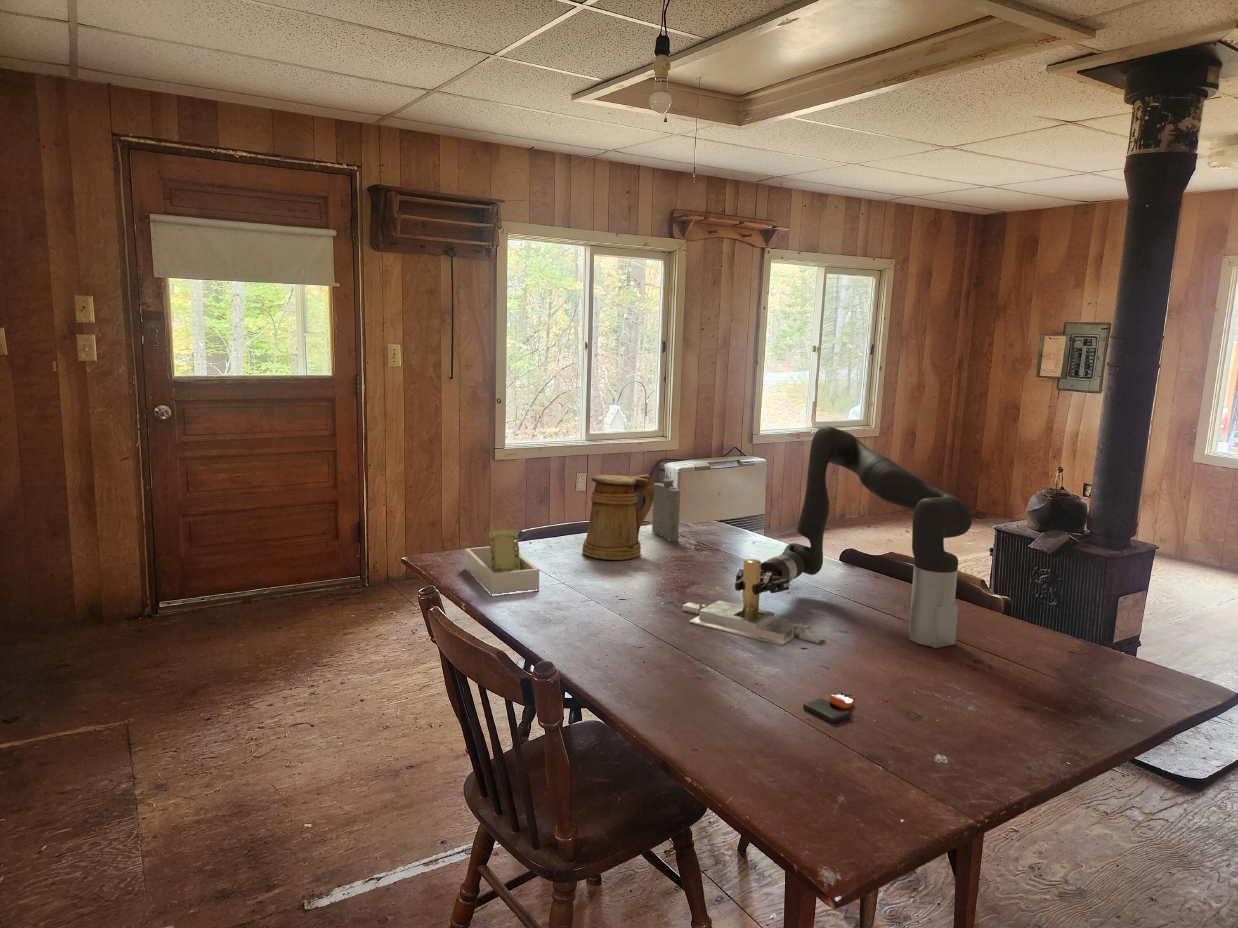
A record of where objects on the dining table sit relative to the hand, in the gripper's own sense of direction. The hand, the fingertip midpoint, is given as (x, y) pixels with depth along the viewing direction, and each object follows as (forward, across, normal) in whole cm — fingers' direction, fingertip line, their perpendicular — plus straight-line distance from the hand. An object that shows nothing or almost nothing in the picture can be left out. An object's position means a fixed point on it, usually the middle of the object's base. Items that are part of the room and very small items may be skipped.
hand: (746, 588), depth 189 cm
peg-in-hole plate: (-3, 0, +10) cm, 10 cm away
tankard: (-36, -62, +10) cm, 73 cm away
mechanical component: (+8, -69, +10) cm, 70 cm away
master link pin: (-3, 0, +8) cm, 8 cm away
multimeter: (+25, +33, +10) cm, 43 cm away
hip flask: (-65, -63, +10) cm, 91 cm away
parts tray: (+8, -71, +10) cm, 72 cm away
